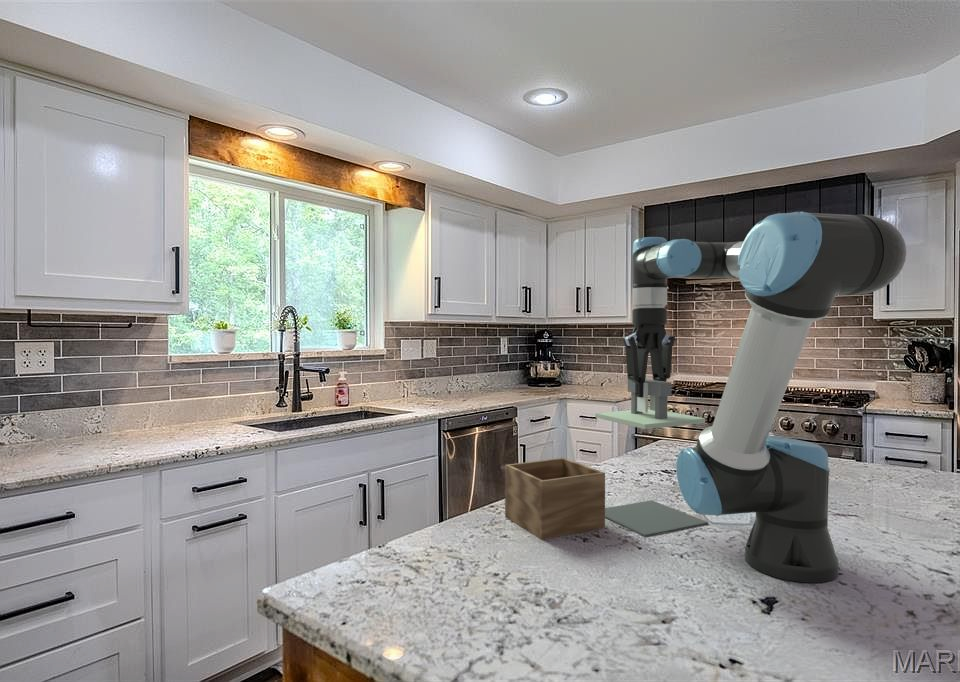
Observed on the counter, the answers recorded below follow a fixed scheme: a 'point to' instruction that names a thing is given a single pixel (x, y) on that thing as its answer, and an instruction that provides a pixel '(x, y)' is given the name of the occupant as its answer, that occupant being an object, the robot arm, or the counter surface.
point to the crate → (555, 497)
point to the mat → (651, 518)
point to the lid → (651, 417)
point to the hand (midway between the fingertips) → (648, 410)
